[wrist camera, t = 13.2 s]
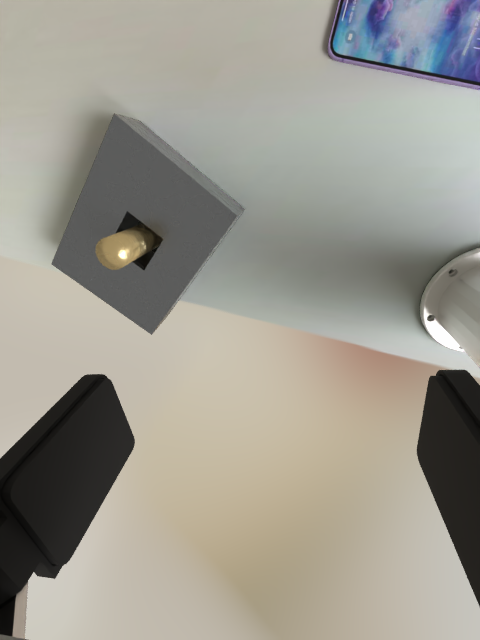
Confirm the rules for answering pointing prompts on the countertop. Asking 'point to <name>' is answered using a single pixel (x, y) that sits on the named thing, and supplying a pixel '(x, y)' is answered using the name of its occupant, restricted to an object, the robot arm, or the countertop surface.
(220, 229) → the block
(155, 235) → the brass pin
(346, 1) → the smartphone
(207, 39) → the countertop surface
